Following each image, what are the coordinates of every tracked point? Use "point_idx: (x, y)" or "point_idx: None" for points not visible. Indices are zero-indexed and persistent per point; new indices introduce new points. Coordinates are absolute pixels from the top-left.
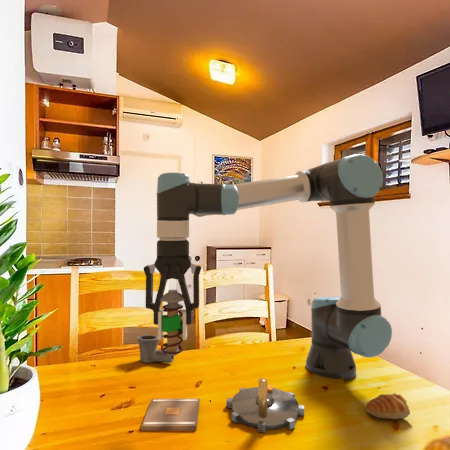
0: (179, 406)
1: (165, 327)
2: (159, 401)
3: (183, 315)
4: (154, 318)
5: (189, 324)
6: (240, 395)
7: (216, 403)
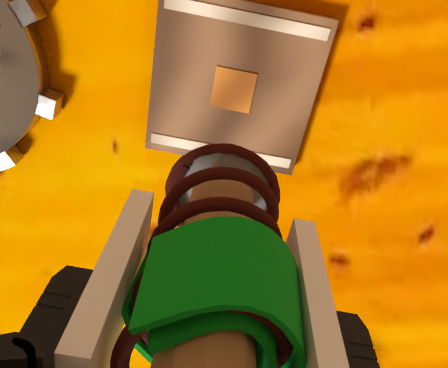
0: (210, 114)
1: (273, 254)
2: (270, 155)
3: (95, 325)
4: (369, 358)
5: (73, 267)
6: (8, 121)
7: (96, 127)
